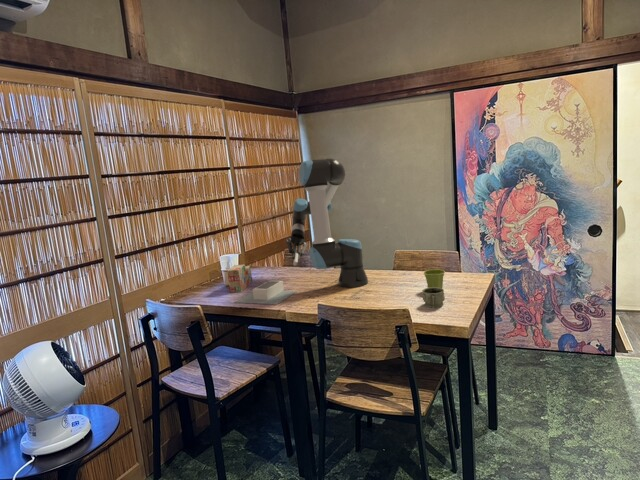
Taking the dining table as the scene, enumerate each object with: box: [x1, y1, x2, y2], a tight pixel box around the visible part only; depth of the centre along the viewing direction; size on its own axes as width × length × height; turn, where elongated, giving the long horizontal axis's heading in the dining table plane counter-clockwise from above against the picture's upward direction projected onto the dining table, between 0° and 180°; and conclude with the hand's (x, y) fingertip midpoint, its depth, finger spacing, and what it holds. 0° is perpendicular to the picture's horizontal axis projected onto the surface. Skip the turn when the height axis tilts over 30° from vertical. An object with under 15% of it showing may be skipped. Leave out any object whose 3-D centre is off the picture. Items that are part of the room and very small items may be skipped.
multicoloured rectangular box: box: [226, 264, 253, 293], centre depth 238 cm, size 21×6×12 cm, turn 173°
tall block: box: [252, 280, 285, 300], centre depth 215 cm, size 8×5×16 cm
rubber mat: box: [233, 290, 298, 305], centre depth 213 cm, size 24×20×1 cm
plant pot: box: [423, 268, 446, 289], centre depth 196 cm, size 9×9×9 cm
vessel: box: [422, 287, 446, 309], centre depth 177 cm, size 12×9×6 cm
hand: (295, 263), depth 230 cm, fingers closed
